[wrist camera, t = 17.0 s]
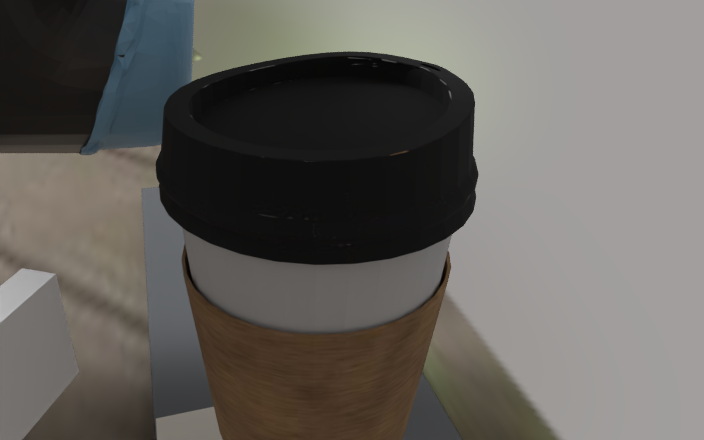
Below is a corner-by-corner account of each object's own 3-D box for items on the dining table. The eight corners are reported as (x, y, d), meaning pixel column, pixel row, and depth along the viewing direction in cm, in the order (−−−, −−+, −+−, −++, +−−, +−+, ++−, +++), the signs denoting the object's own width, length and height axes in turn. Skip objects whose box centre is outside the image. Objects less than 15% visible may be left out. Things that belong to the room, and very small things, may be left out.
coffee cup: (471, 503, 21) (568, 108, 14) (263, 650, 17) (243, 185, 9) (341, 364, 27) (360, 33, 20) (162, 446, 23) (100, 60, 15)
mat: (537, 592, 20) (545, 570, 19) (172, 723, 16) (168, 702, 16) (303, 185, 46) (303, 170, 45) (143, 200, 42) (140, 184, 42)
